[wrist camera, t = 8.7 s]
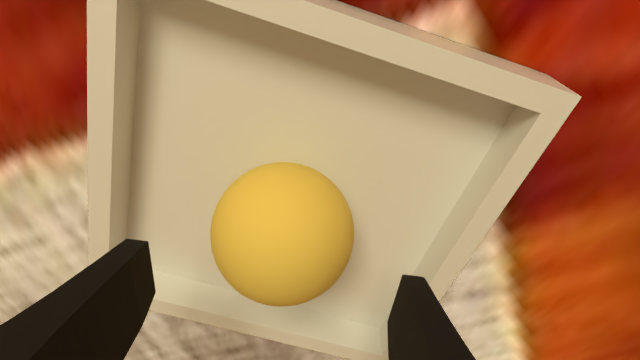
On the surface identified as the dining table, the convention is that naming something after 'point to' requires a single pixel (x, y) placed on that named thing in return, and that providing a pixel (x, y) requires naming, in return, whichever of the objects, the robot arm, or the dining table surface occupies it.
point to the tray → (303, 148)
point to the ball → (282, 234)
